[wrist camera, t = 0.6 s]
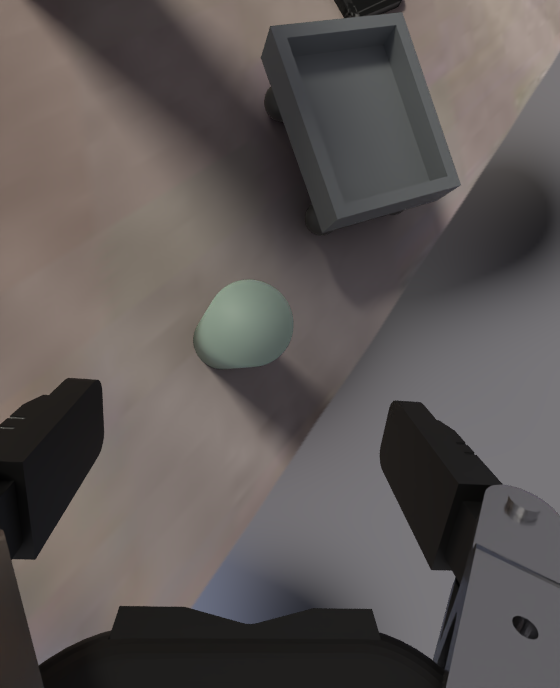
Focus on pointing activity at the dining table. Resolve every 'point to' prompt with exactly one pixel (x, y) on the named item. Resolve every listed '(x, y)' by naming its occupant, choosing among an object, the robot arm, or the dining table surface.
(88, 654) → the robot arm
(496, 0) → the dining table surface
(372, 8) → the phone
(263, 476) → the dining table surface
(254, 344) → the pale green cylinder
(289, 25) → the tray
